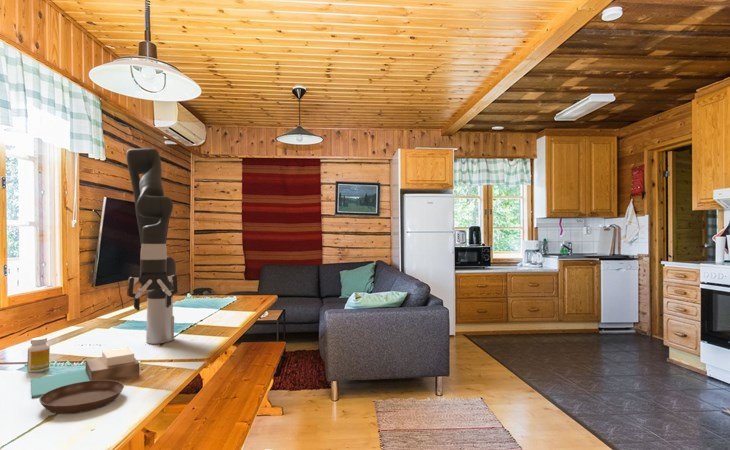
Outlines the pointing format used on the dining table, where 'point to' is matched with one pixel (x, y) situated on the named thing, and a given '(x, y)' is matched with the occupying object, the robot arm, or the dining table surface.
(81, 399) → the plant saucer
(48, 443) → the dining table surface
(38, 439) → the dining table surface
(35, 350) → the supplement bottle
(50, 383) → the mat
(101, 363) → the bronze rectangular block
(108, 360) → the white block
